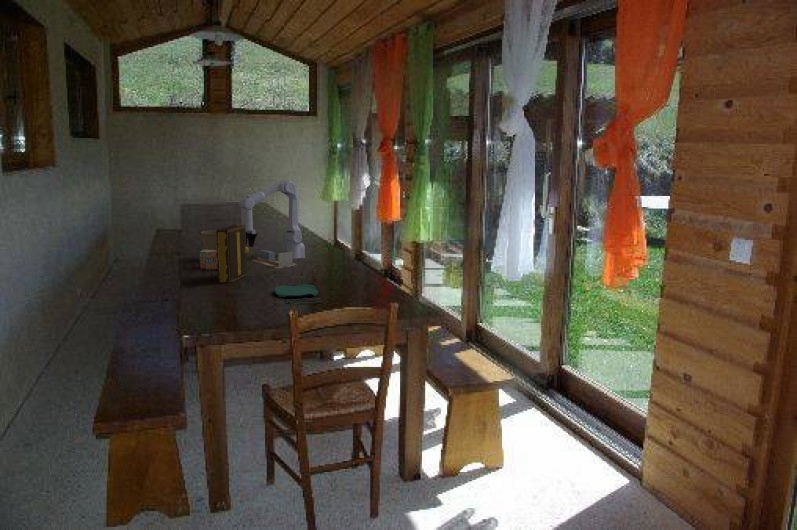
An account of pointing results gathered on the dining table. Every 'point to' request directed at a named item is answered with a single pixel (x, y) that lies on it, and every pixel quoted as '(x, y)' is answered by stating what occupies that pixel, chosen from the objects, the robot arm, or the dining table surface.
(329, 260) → the dining table surface
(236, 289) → the dining table surface
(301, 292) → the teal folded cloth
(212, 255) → the stack of blocks
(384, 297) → the dining table surface
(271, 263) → the shelf slot
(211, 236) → the plant pot
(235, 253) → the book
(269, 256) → the blue-grey rectangular block
